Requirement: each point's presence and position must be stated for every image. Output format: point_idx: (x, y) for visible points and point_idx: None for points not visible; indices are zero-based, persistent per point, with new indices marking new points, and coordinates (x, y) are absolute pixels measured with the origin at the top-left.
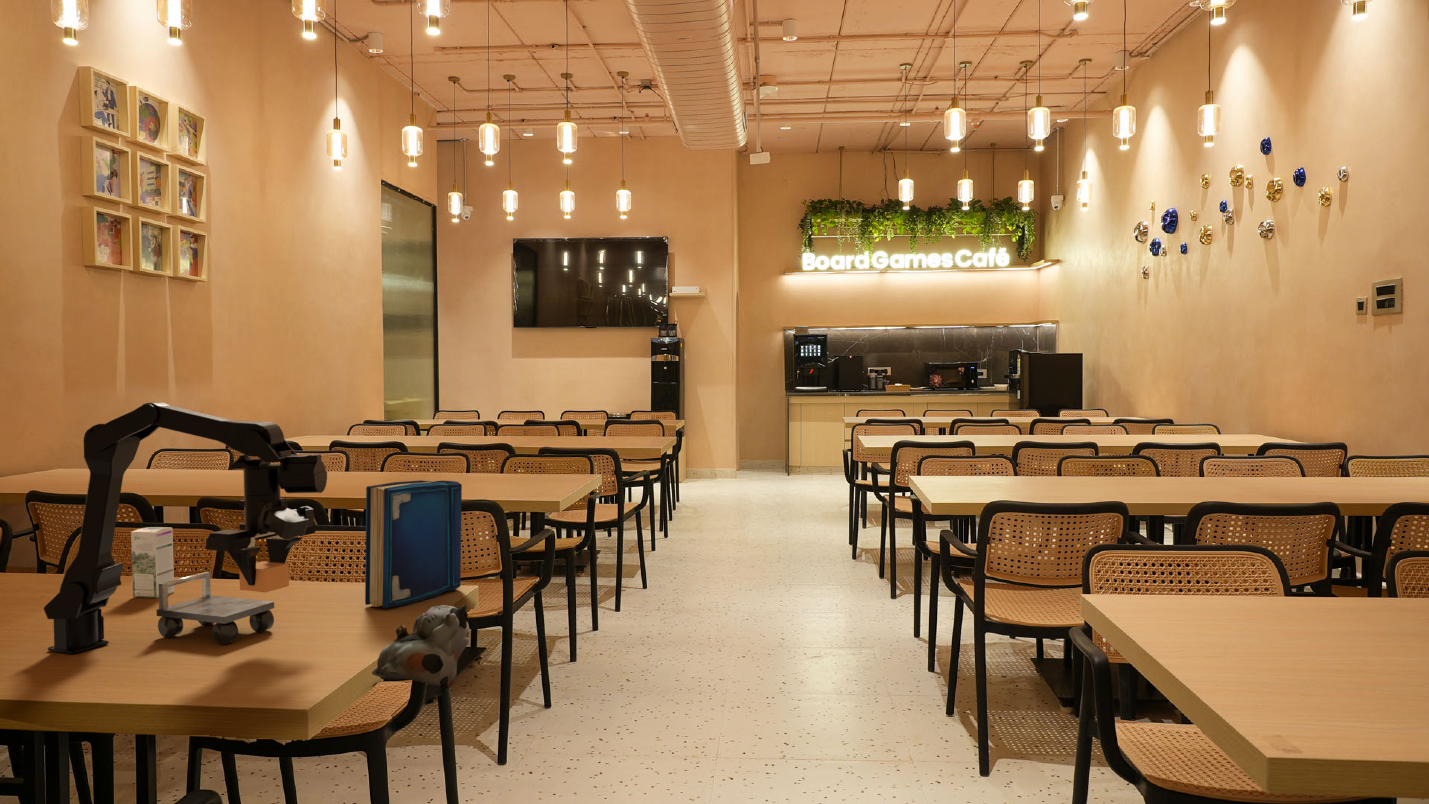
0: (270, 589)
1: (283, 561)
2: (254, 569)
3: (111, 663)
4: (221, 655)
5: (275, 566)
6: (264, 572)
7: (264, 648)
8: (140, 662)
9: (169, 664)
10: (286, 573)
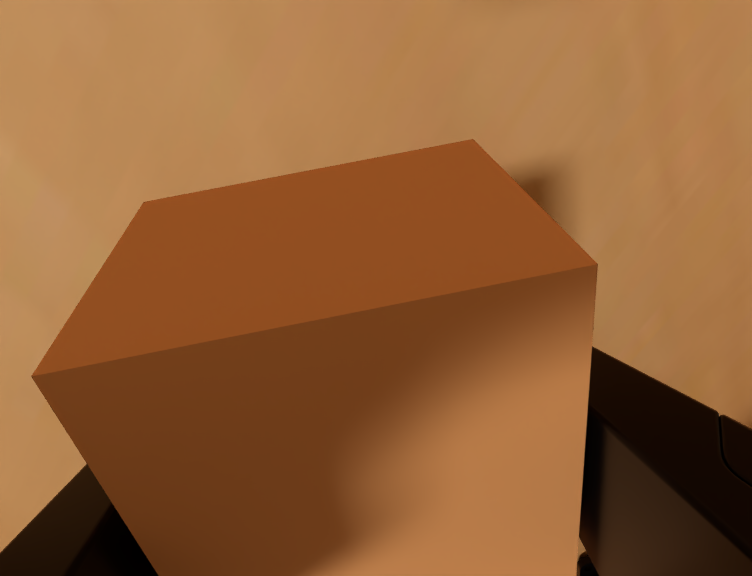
0: (411, 155)
1: (45, 546)
2: (629, 407)
3: (721, 399)
4: (530, 178)
5: (326, 348)
6: (574, 249)
7: (363, 104)
8: (693, 343)
9: (689, 240)
10: (136, 271)
